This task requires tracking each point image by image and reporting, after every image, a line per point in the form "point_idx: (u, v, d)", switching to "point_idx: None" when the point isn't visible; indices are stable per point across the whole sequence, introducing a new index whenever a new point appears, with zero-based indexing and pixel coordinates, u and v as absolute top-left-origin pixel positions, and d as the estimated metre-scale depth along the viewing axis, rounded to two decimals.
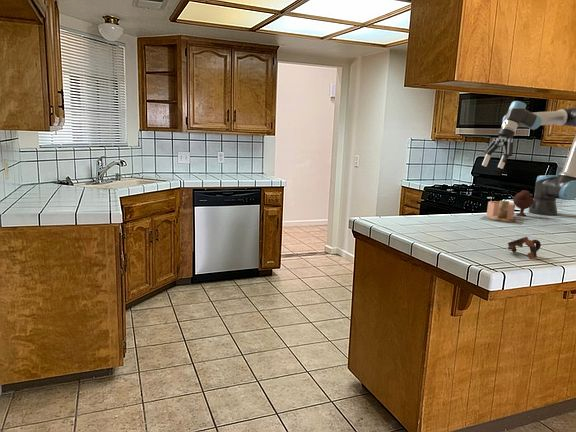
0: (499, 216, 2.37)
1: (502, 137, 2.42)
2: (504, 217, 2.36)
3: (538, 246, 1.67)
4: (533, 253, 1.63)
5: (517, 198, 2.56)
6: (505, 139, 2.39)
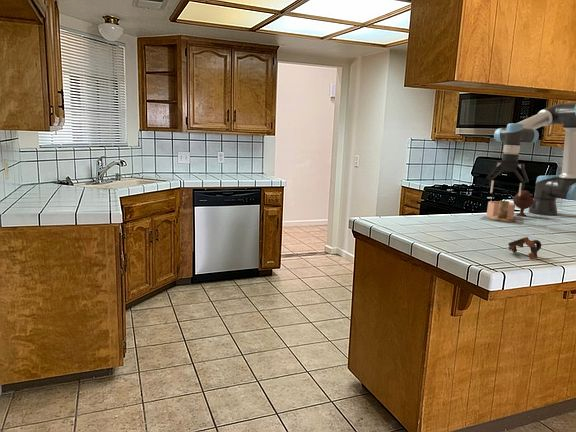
0: (499, 216, 2.37)
1: (509, 162, 2.32)
2: (504, 217, 2.36)
3: (539, 246, 1.67)
4: (534, 253, 1.63)
5: (517, 198, 2.56)
6: (515, 165, 2.30)
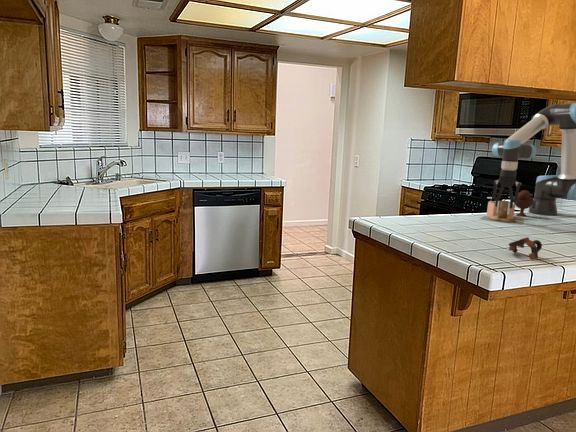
0: (499, 216, 2.37)
1: (506, 178, 2.33)
2: (504, 217, 2.36)
3: (539, 247, 1.66)
4: (534, 254, 1.62)
5: None
6: (513, 181, 2.32)
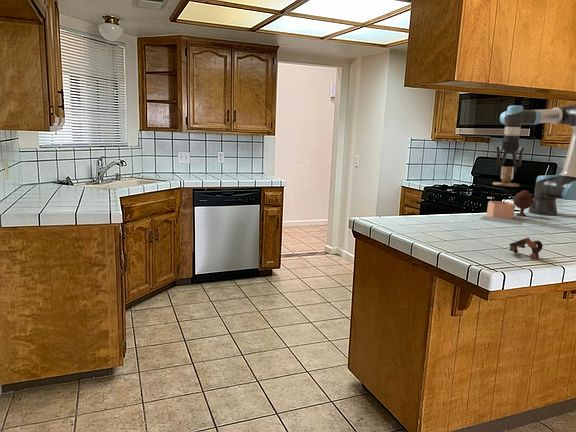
0: (503, 181, 2.42)
1: (510, 144, 2.38)
2: (508, 182, 2.41)
3: (540, 247, 1.66)
4: (535, 254, 1.62)
5: (517, 198, 2.56)
6: (516, 146, 2.37)
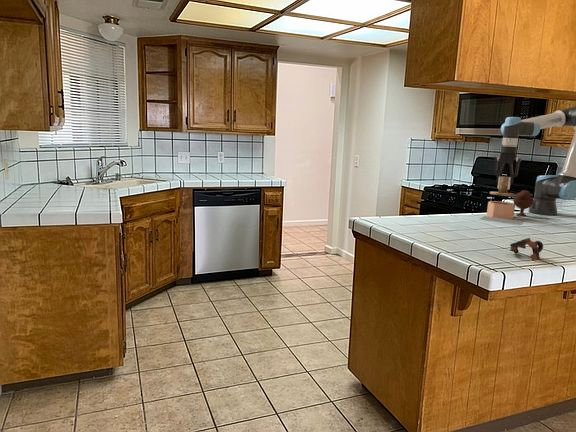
0: (500, 191, 2.47)
1: (507, 154, 2.43)
2: (504, 192, 2.45)
3: (540, 247, 1.65)
4: (536, 254, 1.61)
5: (517, 198, 2.56)
6: (513, 157, 2.42)
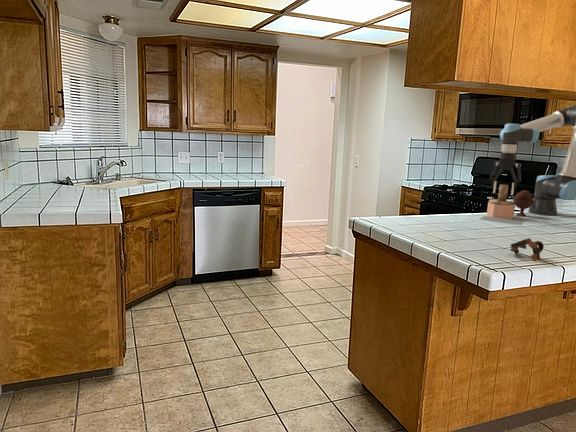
0: (499, 199, 2.47)
1: (506, 161, 2.44)
2: (504, 200, 2.46)
3: (541, 247, 1.65)
4: (536, 255, 1.61)
5: (517, 198, 2.56)
6: (512, 163, 2.42)
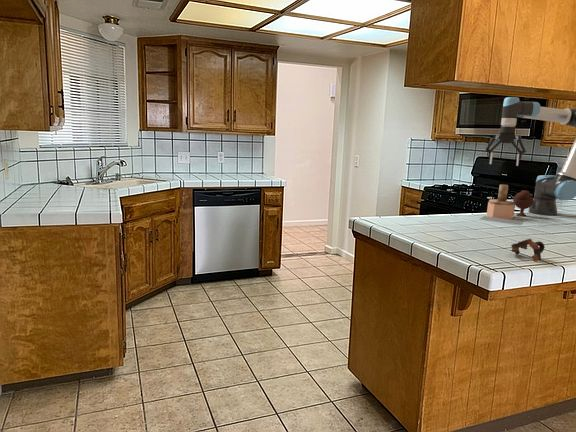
0: (499, 199, 2.47)
1: (506, 134, 2.47)
2: (504, 200, 2.46)
3: (542, 248, 1.65)
4: (537, 255, 1.60)
5: (517, 198, 2.56)
6: (512, 137, 2.45)
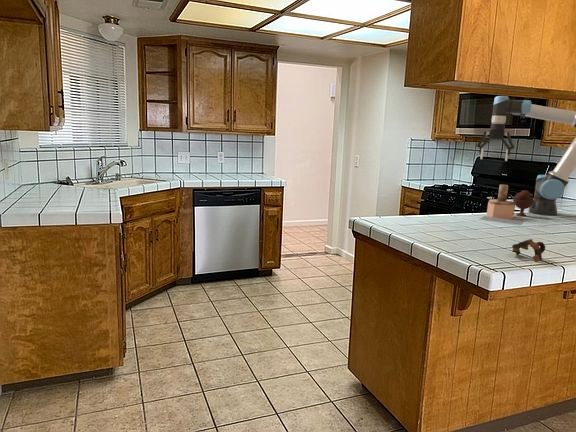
0: (499, 199, 2.47)
1: (496, 131, 2.61)
2: (504, 200, 2.46)
3: (543, 248, 1.64)
4: (538, 256, 1.60)
5: (517, 198, 2.56)
6: (502, 133, 2.60)
